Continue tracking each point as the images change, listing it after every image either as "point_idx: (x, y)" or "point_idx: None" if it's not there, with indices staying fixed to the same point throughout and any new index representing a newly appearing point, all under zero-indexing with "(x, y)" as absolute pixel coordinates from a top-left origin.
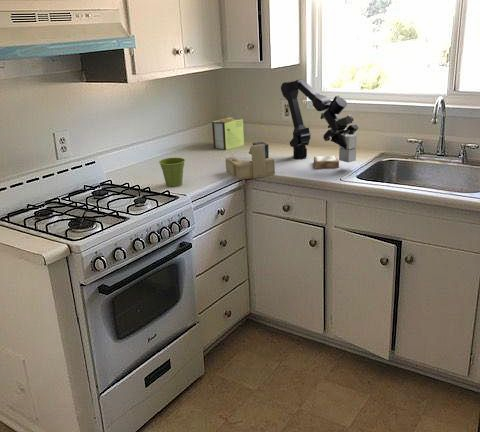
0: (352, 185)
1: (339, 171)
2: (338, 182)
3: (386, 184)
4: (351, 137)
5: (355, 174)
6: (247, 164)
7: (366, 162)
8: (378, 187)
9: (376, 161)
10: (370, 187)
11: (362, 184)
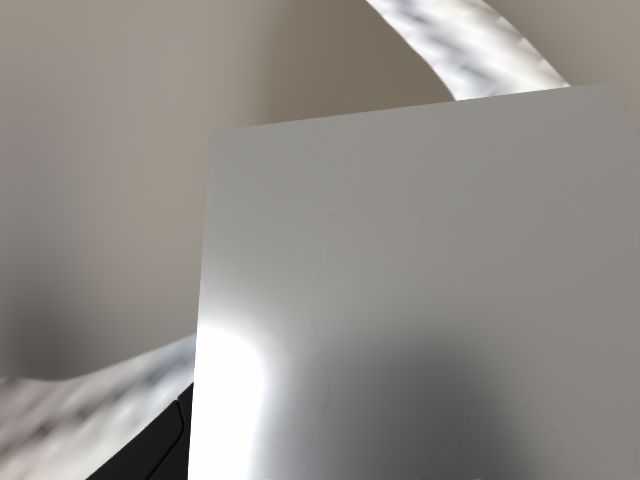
0: (556, 79)
1: None
2: None
3: (393, 22)
4: (474, 121)
5: None
6: None
7: (88, 433)
8: (455, 10)
9: (17, 397)
10: (488, 23)
11: (495, 67)
